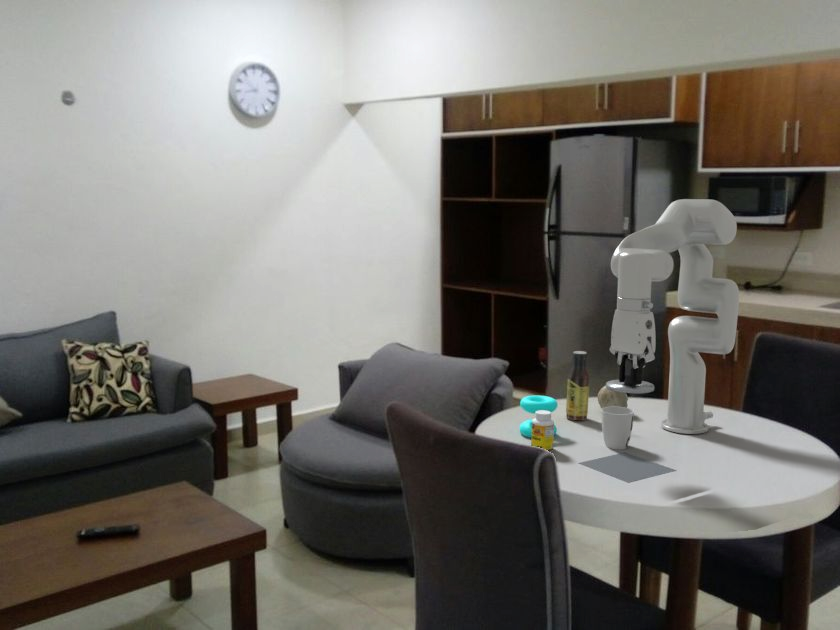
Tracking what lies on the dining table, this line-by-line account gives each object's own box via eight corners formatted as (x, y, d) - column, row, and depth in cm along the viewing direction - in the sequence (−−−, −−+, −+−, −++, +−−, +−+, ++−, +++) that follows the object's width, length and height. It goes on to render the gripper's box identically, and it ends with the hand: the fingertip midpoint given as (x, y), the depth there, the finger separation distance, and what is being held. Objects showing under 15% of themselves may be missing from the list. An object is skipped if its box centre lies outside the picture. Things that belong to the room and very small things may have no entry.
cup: (635, 453, 207) (637, 414, 206) (603, 452, 207) (604, 414, 206) (628, 443, 215) (629, 406, 214) (597, 443, 215) (598, 406, 214)
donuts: (520, 402, 217) (519, 393, 227) (519, 439, 219) (519, 428, 229) (558, 403, 216) (556, 394, 226) (557, 440, 218) (555, 430, 228)
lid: (628, 380, 200) (629, 353, 199) (664, 389, 191) (665, 360, 190) (596, 386, 194) (597, 358, 193) (631, 395, 185) (633, 366, 184)
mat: (625, 454, 206) (625, 452, 206) (676, 472, 193) (676, 470, 193) (578, 465, 197) (578, 463, 197) (628, 485, 184) (628, 482, 184)
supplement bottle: (526, 449, 210) (527, 410, 208) (545, 447, 212) (546, 408, 210) (538, 455, 205) (540, 416, 203) (557, 453, 207) (558, 413, 205)
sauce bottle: (563, 416, 242) (565, 349, 239) (583, 415, 242) (586, 349, 240) (569, 422, 235) (571, 354, 232) (590, 421, 236) (593, 353, 233)
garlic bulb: (625, 423, 244) (636, 394, 240) (598, 419, 243) (608, 390, 238) (616, 406, 252) (626, 378, 248) (590, 402, 251) (600, 374, 247)
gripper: (672, 308, 185) (668, 387, 188) (618, 300, 199) (615, 374, 201) (649, 310, 181) (646, 392, 184) (596, 302, 195) (593, 378, 197)
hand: (630, 382), depth 193 cm, fingers closed on lid, 2 cm apart
